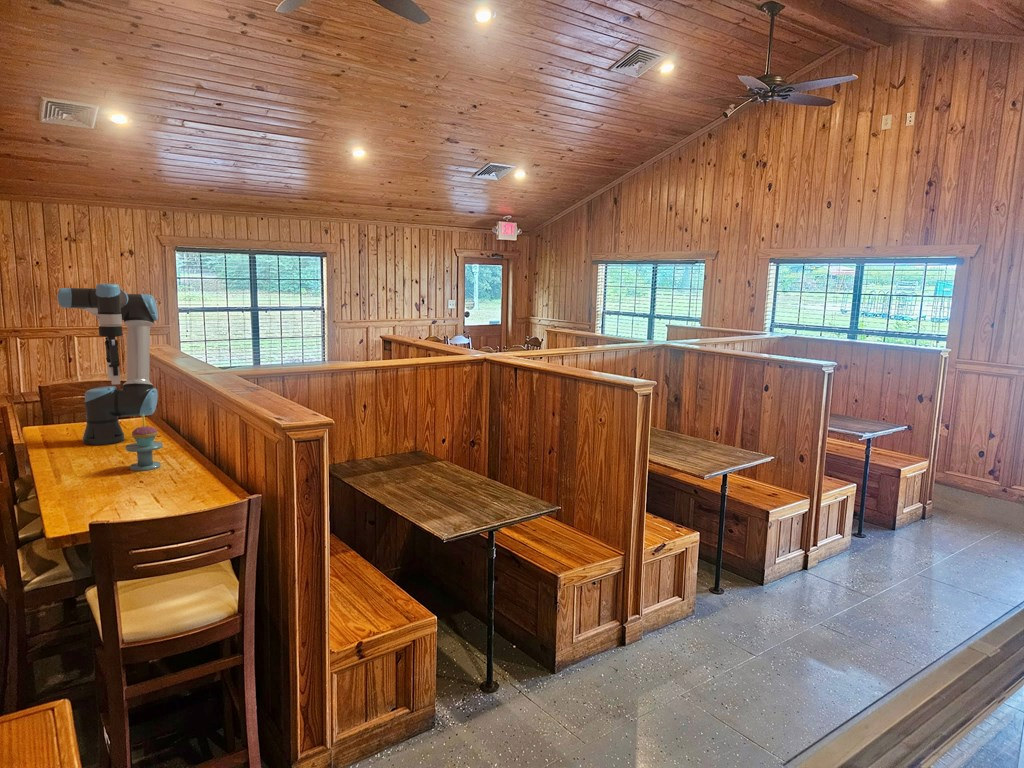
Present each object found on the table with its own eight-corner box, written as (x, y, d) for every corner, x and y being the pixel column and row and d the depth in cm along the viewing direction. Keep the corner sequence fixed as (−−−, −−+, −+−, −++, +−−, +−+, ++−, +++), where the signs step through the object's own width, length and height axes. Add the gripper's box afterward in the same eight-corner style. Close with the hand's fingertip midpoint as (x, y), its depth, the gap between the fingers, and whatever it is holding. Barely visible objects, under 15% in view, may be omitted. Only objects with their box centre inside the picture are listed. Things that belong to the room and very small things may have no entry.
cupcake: (130, 444, 242) (128, 412, 240) (156, 441, 247) (154, 410, 245) (134, 449, 235) (132, 416, 233) (160, 446, 240) (159, 414, 238)
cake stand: (125, 465, 244) (123, 443, 242) (161, 461, 251) (159, 439, 249) (129, 473, 234) (127, 450, 233) (166, 468, 241) (165, 446, 240)
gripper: (95, 323, 250) (99, 378, 253) (101, 328, 230) (105, 387, 233) (118, 323, 254) (121, 376, 258) (125, 327, 235) (129, 385, 238)
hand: (114, 381), depth 245 cm, fingers open, 13 cm apart
